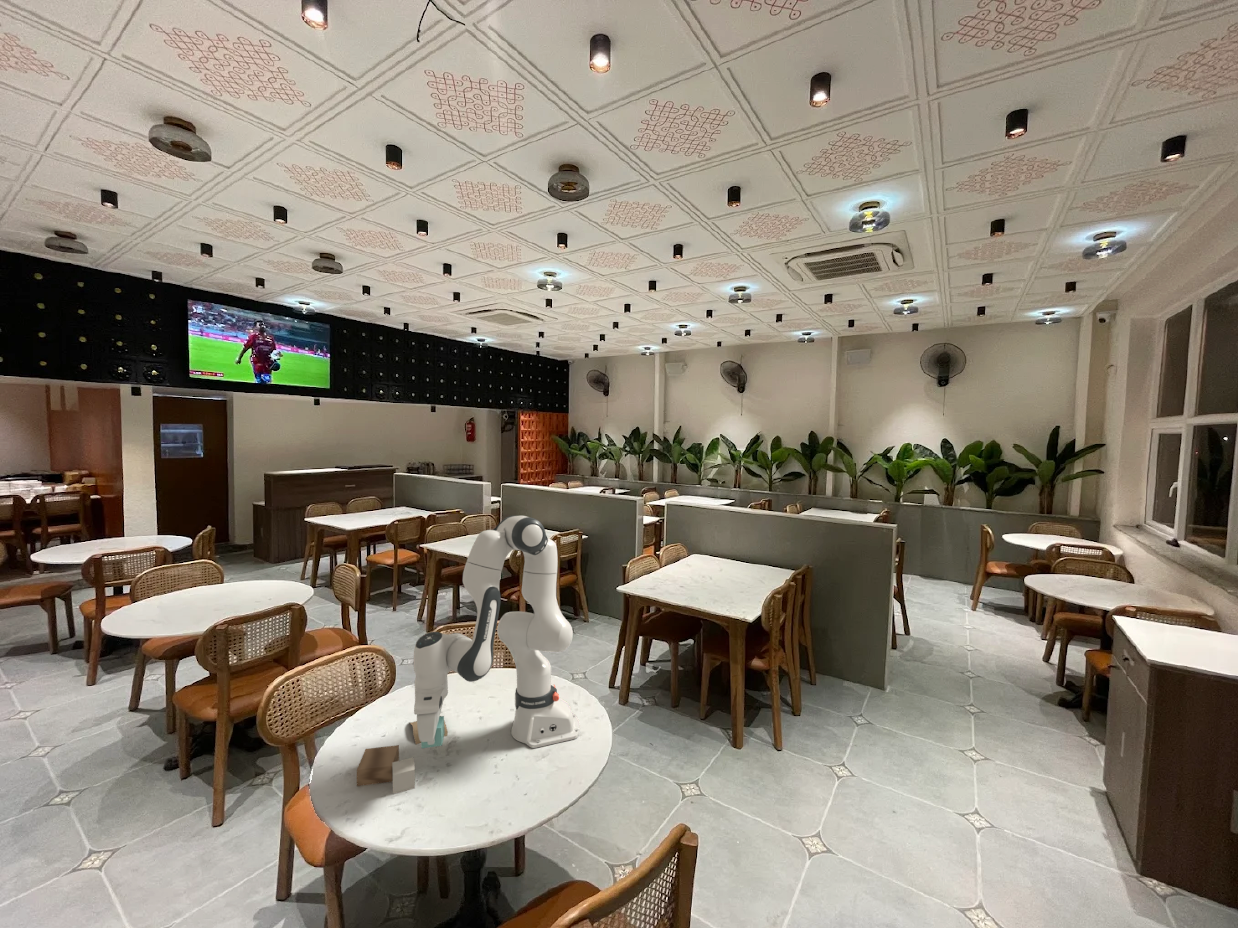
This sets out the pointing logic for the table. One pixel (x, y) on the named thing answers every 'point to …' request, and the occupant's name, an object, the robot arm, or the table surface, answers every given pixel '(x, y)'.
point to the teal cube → (437, 735)
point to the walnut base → (377, 765)
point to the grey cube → (403, 775)
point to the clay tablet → (415, 731)
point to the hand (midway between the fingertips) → (433, 734)
